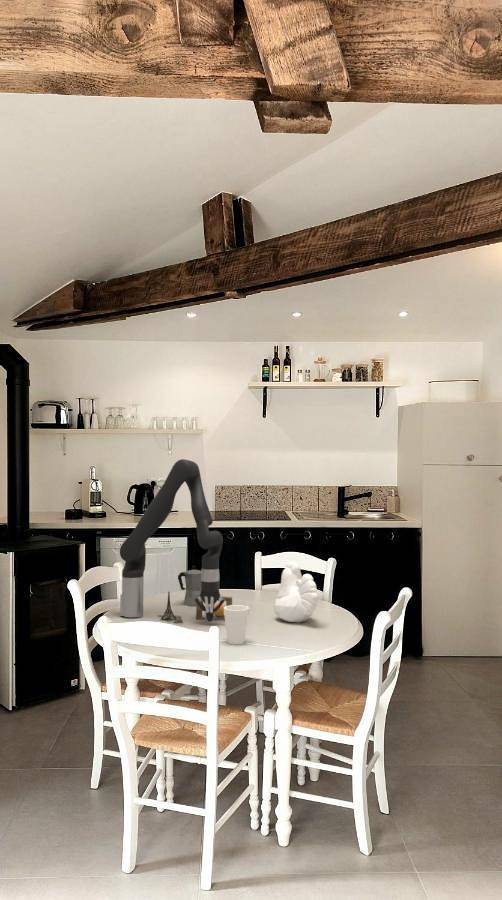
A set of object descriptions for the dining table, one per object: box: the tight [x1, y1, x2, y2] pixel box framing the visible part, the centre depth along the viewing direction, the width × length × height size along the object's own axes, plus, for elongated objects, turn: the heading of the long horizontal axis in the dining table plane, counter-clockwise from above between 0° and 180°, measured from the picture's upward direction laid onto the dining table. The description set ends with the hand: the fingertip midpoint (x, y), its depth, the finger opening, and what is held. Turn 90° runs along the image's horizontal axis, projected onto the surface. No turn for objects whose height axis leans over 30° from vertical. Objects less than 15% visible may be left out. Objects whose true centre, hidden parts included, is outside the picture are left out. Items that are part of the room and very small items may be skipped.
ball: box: [214, 602, 226, 617], centre depth 311 cm, size 6×6×6 cm
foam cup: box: [224, 604, 250, 646], centre depth 271 cm, size 10×9×13 cm
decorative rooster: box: [273, 560, 319, 623], centre depth 303 cm, size 25×16×25 cm, turn 16°
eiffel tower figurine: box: [157, 591, 183, 624], centre depth 306 cm, size 15×10×13 cm
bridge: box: [195, 596, 233, 621], centre depth 306 cm, size 3×15×10 cm, turn 82°
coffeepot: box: [177, 565, 204, 607], centre depth 335 cm, size 15×9×18 cm, turn 129°
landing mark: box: [202, 612, 225, 620], centre depth 314 cm, size 12×12×1 cm
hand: (209, 621), depth 297 cm, fingers closed
